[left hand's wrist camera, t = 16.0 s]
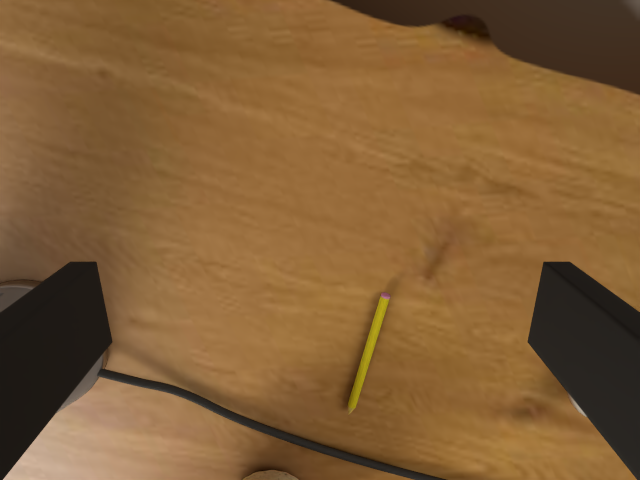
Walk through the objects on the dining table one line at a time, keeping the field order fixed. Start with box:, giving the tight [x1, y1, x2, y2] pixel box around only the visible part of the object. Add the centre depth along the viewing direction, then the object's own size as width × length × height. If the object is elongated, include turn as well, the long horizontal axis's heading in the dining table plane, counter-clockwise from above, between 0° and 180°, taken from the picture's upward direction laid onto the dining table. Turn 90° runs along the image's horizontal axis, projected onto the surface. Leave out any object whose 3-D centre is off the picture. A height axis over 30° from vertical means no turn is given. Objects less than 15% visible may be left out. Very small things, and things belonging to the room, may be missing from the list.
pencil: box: [348, 293, 390, 414], centre depth 48 cm, size 16×1×1 cm, turn 168°
